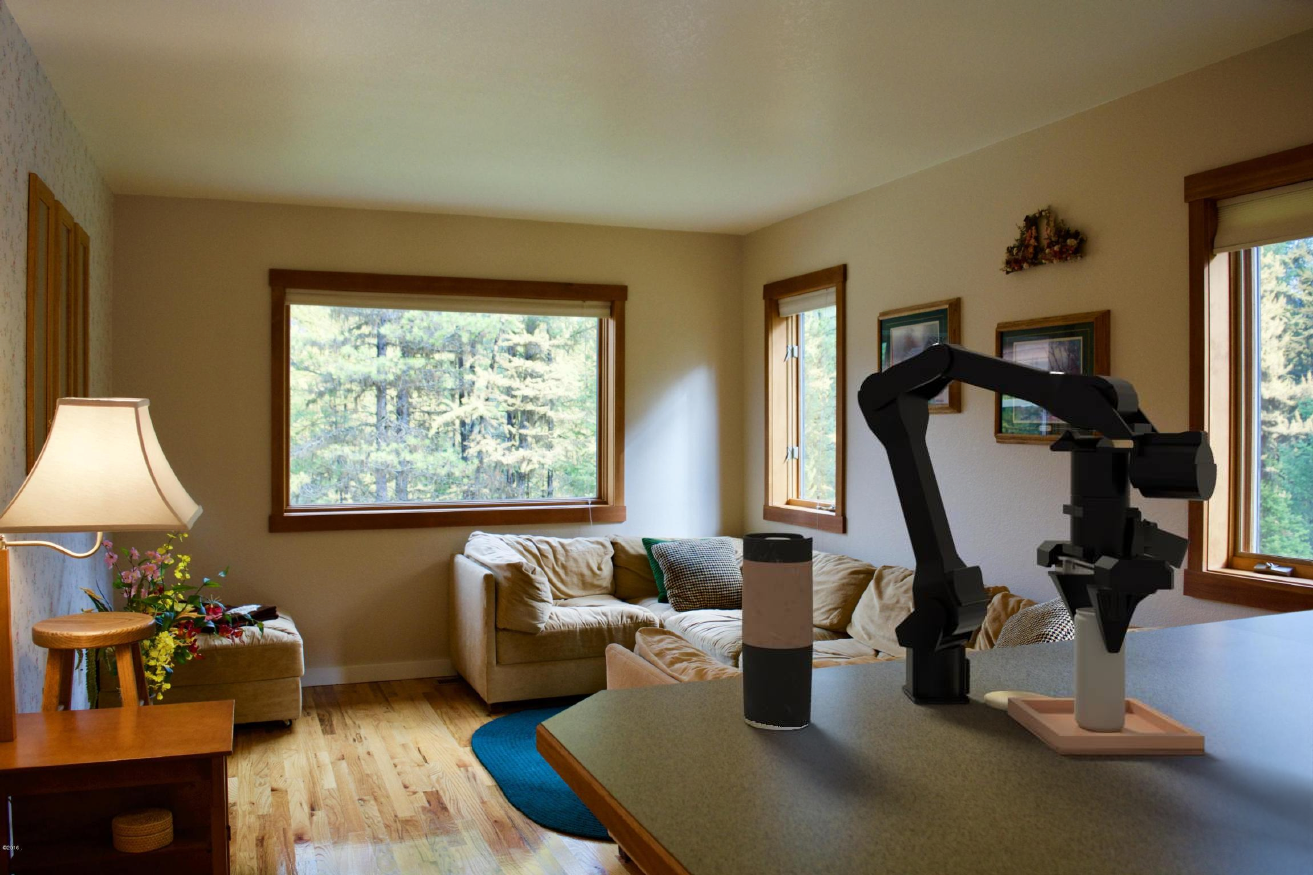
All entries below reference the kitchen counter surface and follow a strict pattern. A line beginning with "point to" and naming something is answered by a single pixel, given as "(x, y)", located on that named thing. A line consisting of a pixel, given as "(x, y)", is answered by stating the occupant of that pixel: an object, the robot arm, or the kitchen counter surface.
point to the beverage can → (1097, 677)
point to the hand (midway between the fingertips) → (1099, 646)
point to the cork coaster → (1001, 698)
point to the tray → (1137, 737)
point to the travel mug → (777, 628)
